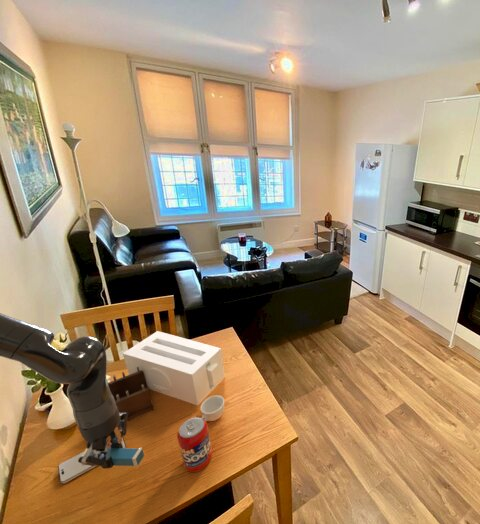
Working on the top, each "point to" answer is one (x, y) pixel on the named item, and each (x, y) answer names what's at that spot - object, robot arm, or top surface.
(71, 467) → the smartphone
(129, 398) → the rack
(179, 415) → the top surface
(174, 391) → the toaster
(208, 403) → the teacup
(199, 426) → the soda can
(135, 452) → the peg
